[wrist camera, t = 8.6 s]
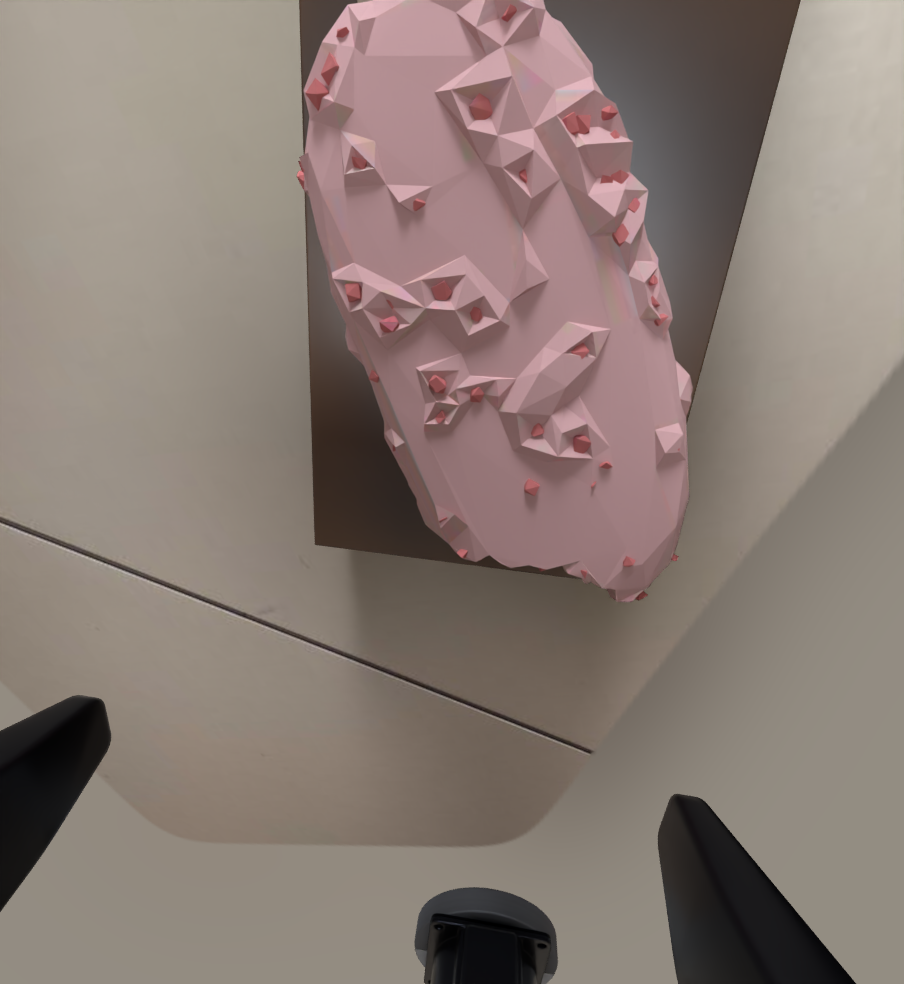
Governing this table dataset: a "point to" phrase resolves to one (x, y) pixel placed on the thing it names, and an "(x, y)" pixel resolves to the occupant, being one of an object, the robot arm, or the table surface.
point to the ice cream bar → (501, 285)
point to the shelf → (668, 223)
